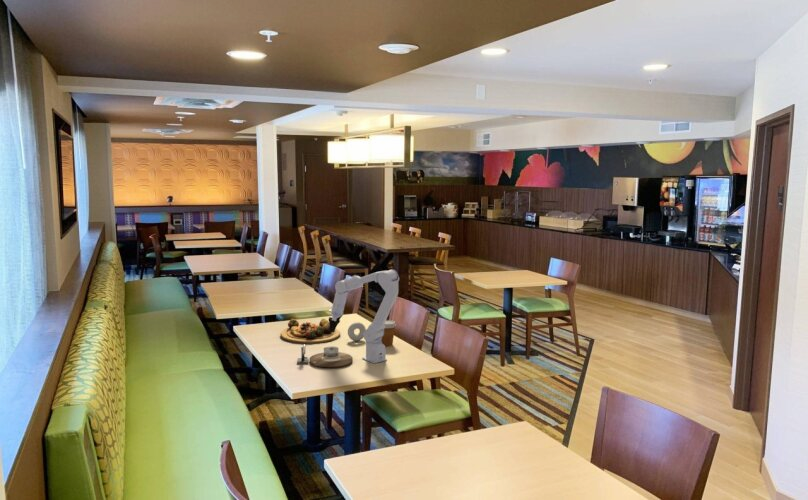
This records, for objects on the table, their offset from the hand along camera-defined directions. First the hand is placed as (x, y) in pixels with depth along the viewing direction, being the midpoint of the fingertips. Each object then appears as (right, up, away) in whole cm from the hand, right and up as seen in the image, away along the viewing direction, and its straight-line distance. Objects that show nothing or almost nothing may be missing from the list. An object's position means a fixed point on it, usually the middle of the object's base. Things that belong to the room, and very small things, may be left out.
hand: (332, 329), depth 287 cm
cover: (0, -11, -9) cm, 14 cm away
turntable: (+1, -13, -14) cm, 19 cm away
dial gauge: (-12, -13, -15) cm, 24 cm away
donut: (+10, -9, +21) cm, 25 cm away
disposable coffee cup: (+26, -10, +15) cm, 32 cm away
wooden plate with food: (-16, -8, +30) cm, 35 cm away
